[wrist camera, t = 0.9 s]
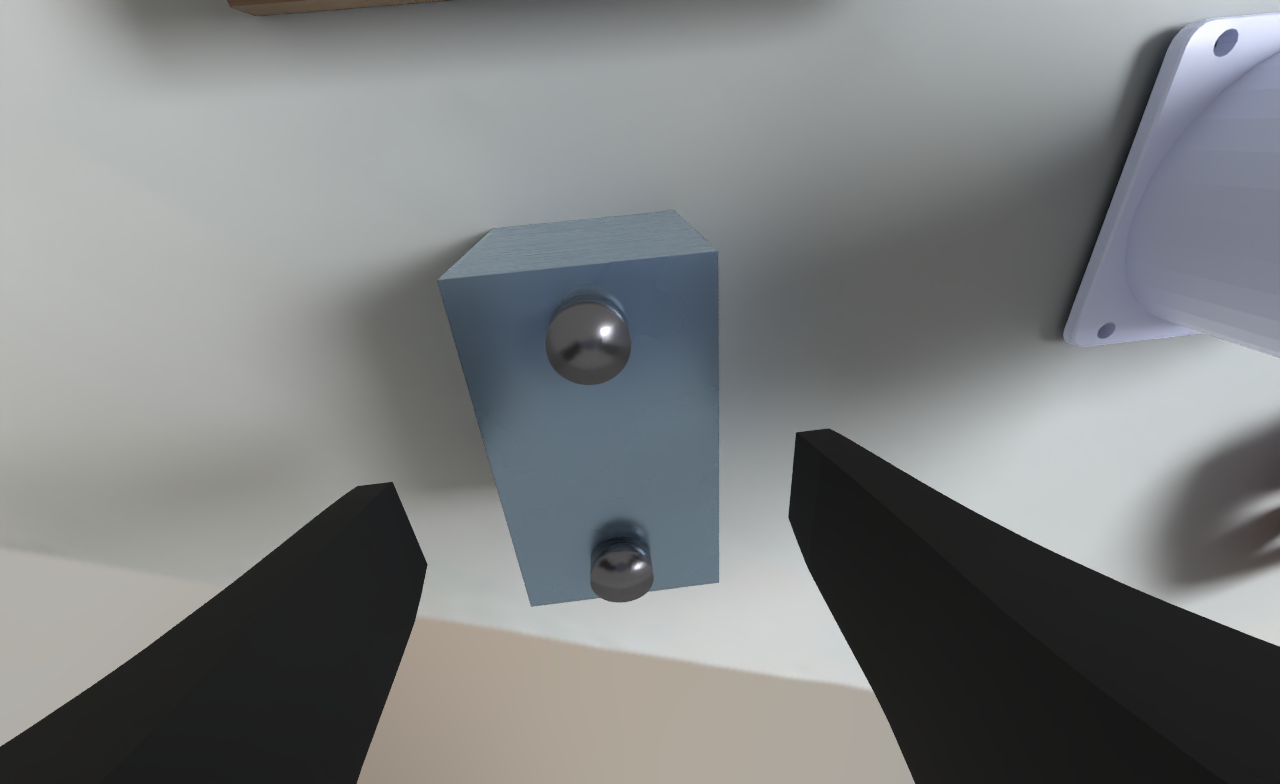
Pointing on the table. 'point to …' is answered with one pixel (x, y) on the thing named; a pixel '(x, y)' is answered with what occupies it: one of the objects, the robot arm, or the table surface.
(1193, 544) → the table surface
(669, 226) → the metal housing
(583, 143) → the table surface
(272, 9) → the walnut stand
